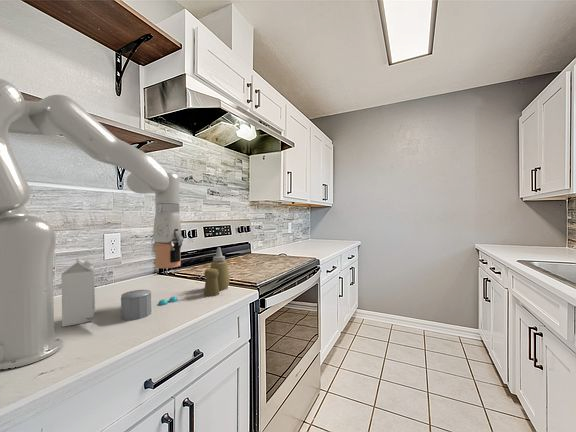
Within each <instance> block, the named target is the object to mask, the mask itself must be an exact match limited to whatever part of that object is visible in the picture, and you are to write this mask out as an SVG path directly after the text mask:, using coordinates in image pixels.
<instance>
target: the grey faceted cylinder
mask: <svg viewBox="0 0 576 432" xmlns="http://www.w3.org/2000/svg"><path fill="white" fill-rule="evenodd" d="M120 313H121V315H120V316H121V319H122V320H123V321H136V320H141V319H144V318H147V317H149V316H150V315H152V291H151V290H150V289H136V290H135V289H134V290H131V291H126V292H124V293H122V294H121V297H120Z"/></svg>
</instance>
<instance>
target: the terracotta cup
mask: <svg viewBox="0 0 576 432" xmlns="http://www.w3.org/2000/svg"><path fill="white" fill-rule="evenodd" d="M173 244H174V245H175V243H173ZM170 250H172V249H171V247H170V244H169V243H155V268H156V269H173V268H178V267H181V266H182V265H181V264H182V263H181V261H182V259H181V253H180V261H179V262H173V263H171V262H170Z"/></svg>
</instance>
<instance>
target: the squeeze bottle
mask: <svg viewBox="0 0 576 432" xmlns="http://www.w3.org/2000/svg"><path fill="white" fill-rule="evenodd" d="M209 269H217V270H218V272H219V275H218V277H217V280H218V287H219V292H220V291H224V290H228V288H229V284H230V276H229V275H230V274H229V267H228V262H227V260H226V256H225V255H223V253H222V249H221V247H220V246H219V247H217V248H216V253H215V255H214V256H213V257H212V261H211V262H210V268H209Z"/></svg>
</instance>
